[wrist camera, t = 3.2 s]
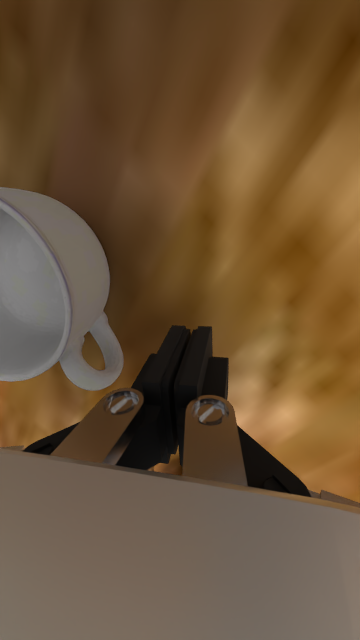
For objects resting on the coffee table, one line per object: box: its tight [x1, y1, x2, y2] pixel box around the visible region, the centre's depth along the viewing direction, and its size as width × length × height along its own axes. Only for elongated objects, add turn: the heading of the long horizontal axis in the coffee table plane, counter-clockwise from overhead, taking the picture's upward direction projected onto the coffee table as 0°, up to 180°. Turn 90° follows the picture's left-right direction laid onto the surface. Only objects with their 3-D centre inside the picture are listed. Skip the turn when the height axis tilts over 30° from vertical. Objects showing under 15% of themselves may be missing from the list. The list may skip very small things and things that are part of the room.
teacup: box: [0, 187, 124, 391], centre depth 18 cm, size 14×11×8 cm
